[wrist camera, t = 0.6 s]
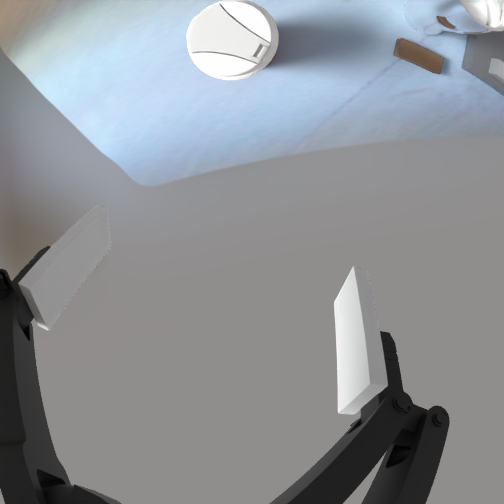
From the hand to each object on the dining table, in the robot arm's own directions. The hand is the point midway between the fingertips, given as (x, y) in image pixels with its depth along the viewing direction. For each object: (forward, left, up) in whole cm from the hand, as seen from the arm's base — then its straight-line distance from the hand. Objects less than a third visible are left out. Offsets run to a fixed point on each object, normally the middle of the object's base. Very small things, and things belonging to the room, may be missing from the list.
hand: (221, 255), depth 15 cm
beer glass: (-23, +16, -27) cm, 39 cm away
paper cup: (-11, -4, -27) cm, 29 cm away
